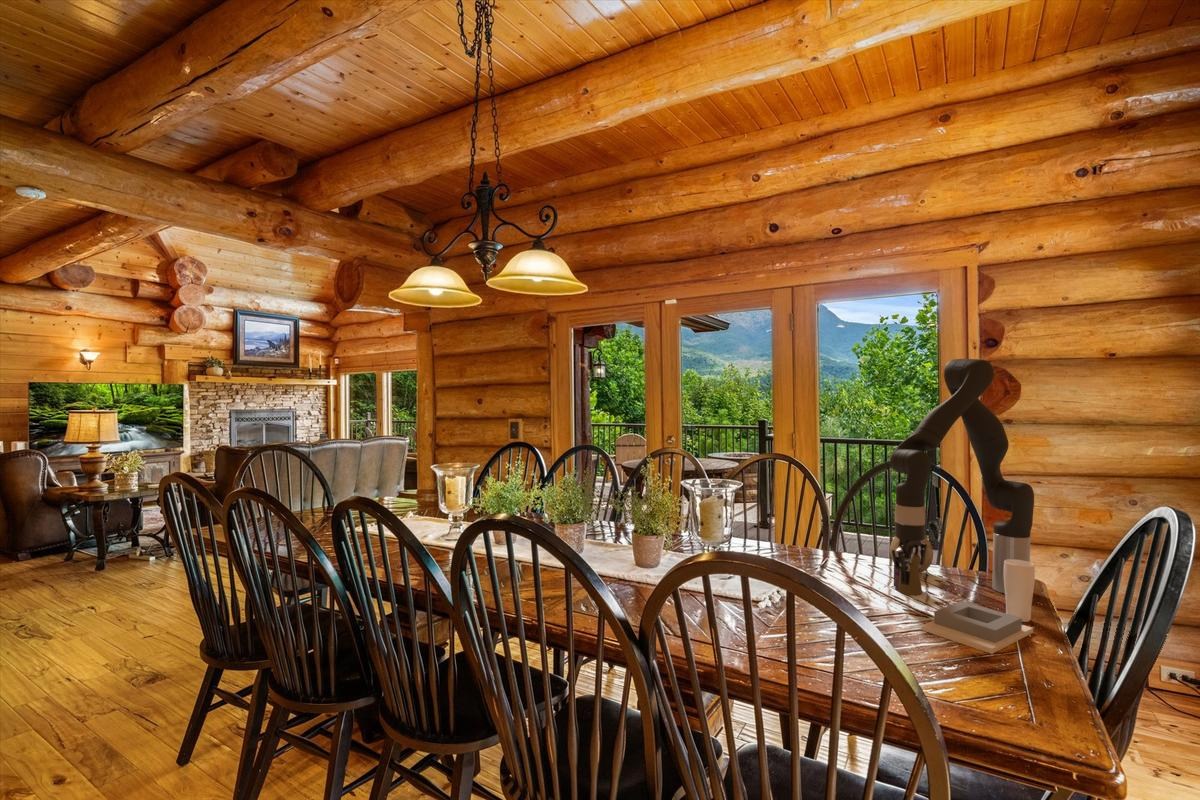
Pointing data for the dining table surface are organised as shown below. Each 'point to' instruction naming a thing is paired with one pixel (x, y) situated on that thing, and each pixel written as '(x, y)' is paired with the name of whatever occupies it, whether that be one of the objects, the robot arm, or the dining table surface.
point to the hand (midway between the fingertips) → (909, 582)
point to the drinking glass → (1019, 588)
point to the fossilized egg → (928, 554)
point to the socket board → (974, 639)
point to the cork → (912, 579)
